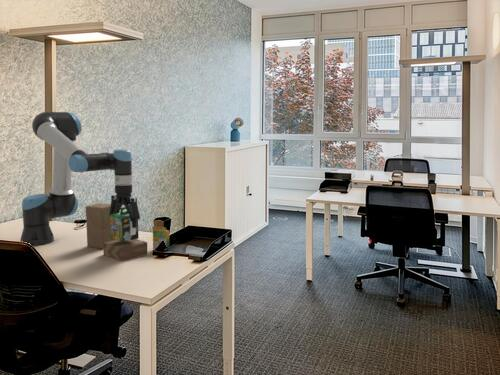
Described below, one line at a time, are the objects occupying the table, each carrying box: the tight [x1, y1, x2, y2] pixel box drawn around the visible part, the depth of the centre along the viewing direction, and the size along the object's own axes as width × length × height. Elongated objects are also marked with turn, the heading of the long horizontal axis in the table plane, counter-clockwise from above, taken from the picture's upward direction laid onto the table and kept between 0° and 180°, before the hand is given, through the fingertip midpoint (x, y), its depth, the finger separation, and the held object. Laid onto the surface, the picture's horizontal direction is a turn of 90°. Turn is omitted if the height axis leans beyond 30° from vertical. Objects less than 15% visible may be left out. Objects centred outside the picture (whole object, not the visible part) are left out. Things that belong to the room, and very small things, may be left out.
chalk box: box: [110, 206, 140, 242], centre depth 206 cm, size 9×9×15 cm
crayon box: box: [152, 225, 170, 251], centre depth 215 cm, size 7×3×12 cm, turn 70°
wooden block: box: [85, 202, 114, 250], centre depth 221 cm, size 10×10×20 cm
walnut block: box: [102, 238, 148, 262], centre depth 208 cm, size 14×14×6 cm
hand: (124, 233), depth 207 cm, fingers closed on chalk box, 9 cm apart
